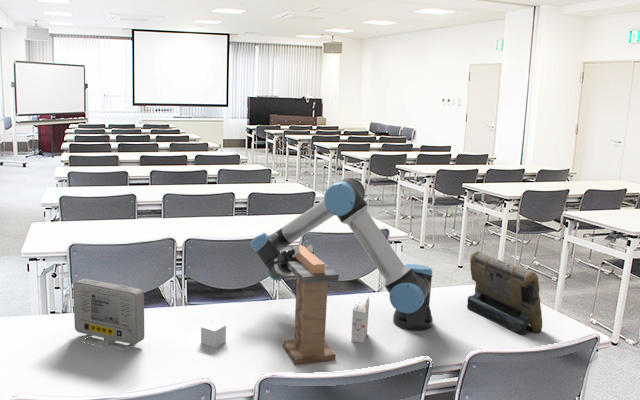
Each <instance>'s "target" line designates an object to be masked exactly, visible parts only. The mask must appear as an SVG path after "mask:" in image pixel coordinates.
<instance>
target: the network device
mask: <svg viewBox="0 0 640 400" xmlns="http://www.w3.org/2000/svg"><path fill="white" fill-rule="evenodd" d="M72 291H73V293H72V294H73V317H74V318H73V319H74V329H75V331H76V332H77V333H80V334H84V335H83V336H82V337H81V338H80V341H82V342H85V343H84V344H86V343H89V344H88V345H90V344H94V345H93V346H95V345H97V346H96V347H99V346H101V347H100V348H103V347H105V349H108V348H109V350H112V349H113V351H116V350H118V351H117V352H121V351H127V350H130V349H131V348H133V347H134V346H136V345H137V344H139V343H140V342H142V341H143V340H144V339H145V293H144V290H143V289H141V288H137V287H131V286H126V285H120V284H116V283H110V282H106V281H105V282H104V281H98V280H94V279H90V278H89V279H88V278H81V279H80V280H77V281H75V282H74V283H73V285H72ZM91 335H92V336H94V337H97V338H101V339H102V340H101V341H99V342H95V341H92V340H91V341H90V340H87V339H88V338H87V337H89V336H90V337H92V336H91ZM90 337H89V338H90ZM85 338H87V339H85ZM84 339H85V340H84ZM115 341H116V342H120V343H125V344H128V345H126V346H124V347H116V346H113V345H111V344H112V343H114V342H115Z"/></svg>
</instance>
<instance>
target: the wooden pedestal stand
mask: <svg viewBox="0 0 640 400" xmlns="http://www.w3.org/2000/svg"><path fill="white" fill-rule="evenodd" d="M320 260H321V261H322V262H323V263H324V264H325V273H317V274H312V273H311V272H310V271H309V270H308V269H307V268H306V267H305V266H304V265H303V264H302V263H301V262H300V261H293V262H288V268H289V269H290V270H291V271H292V272H291V274H293V275H294V276H295V277H296V285H295V287H296V289H295V310H294V312H295V313H294V334H293V335H294V336H293V339H288V340H287V339H286V340H282V347H283V349H284V351H285V352H286V353H287V355H288V357H289V358H290V360H291V361H292V363H293V364H294V366H300V365H306V364H307V365H309V364H314V363H323V362H330V361H336V360H337V359H336V353H335V352H334V350H333V349H332V348H331V346H329V344H328V343H327V342H326V341H325V340H326V324H327V323H326V322H327V321H326V320H327V306H328V305H327V303H328V284H329V282H337V281H339V273H337V272H336V271H335V270H334V269H333V268H332V267H331V266H329V265H328V264H327V263H326V262H324V260H322V259H320Z"/></svg>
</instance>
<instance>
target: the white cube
mask: <svg viewBox="0 0 640 400" xmlns="http://www.w3.org/2000/svg"><path fill="white" fill-rule="evenodd" d="M226 341H227V325H225V324H223V323H218V322H215V321H214V320H213V321H211V322H209V323H207V324H205V325H203V326H201V328H200V344H202V345H206V346H209V347H211V348H214V349H215V348H217V347H218V346H220V345H222V344H223V343H225V342H226Z"/></svg>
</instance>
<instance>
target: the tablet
mask: <svg viewBox="0 0 640 400" xmlns="http://www.w3.org/2000/svg"><path fill="white" fill-rule="evenodd" d="M469 260H470V275H471V280H472V281H474V282H475V287H474V293H473V295H469V296H467V304H466V308H467V309H469V310H470V311H472V312H474V313H475V314H478V315H479V316H481V317H483V318H486V319H487V320H489V321H492V322H493V323H496V324H498V325H500V326H501V327H503V328H505V329H508V330H510V331H512V332H514V333H517V334H519V335H522V336H525V335H527V333H528V332H527V330H526V329H527V327H528V326H529V325H530V329H531V330H532V332H534V333H535V334H539V333H541V332H542V329H543V316H542V314H543V313H542V306H541V298H540V284H539V275H538V274H537V273H536V272H535V271H533V270H532V271H530V270H528V269H524V268H521V267H519V266H516V265H514V264H512V263H509V262H507V261H504V260H501V259H499V258H495V257H493V256H490V255H487V254H485V253H482V252H481V251H480V250H475V251H473V253H471V255H470V259H469Z"/></svg>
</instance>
